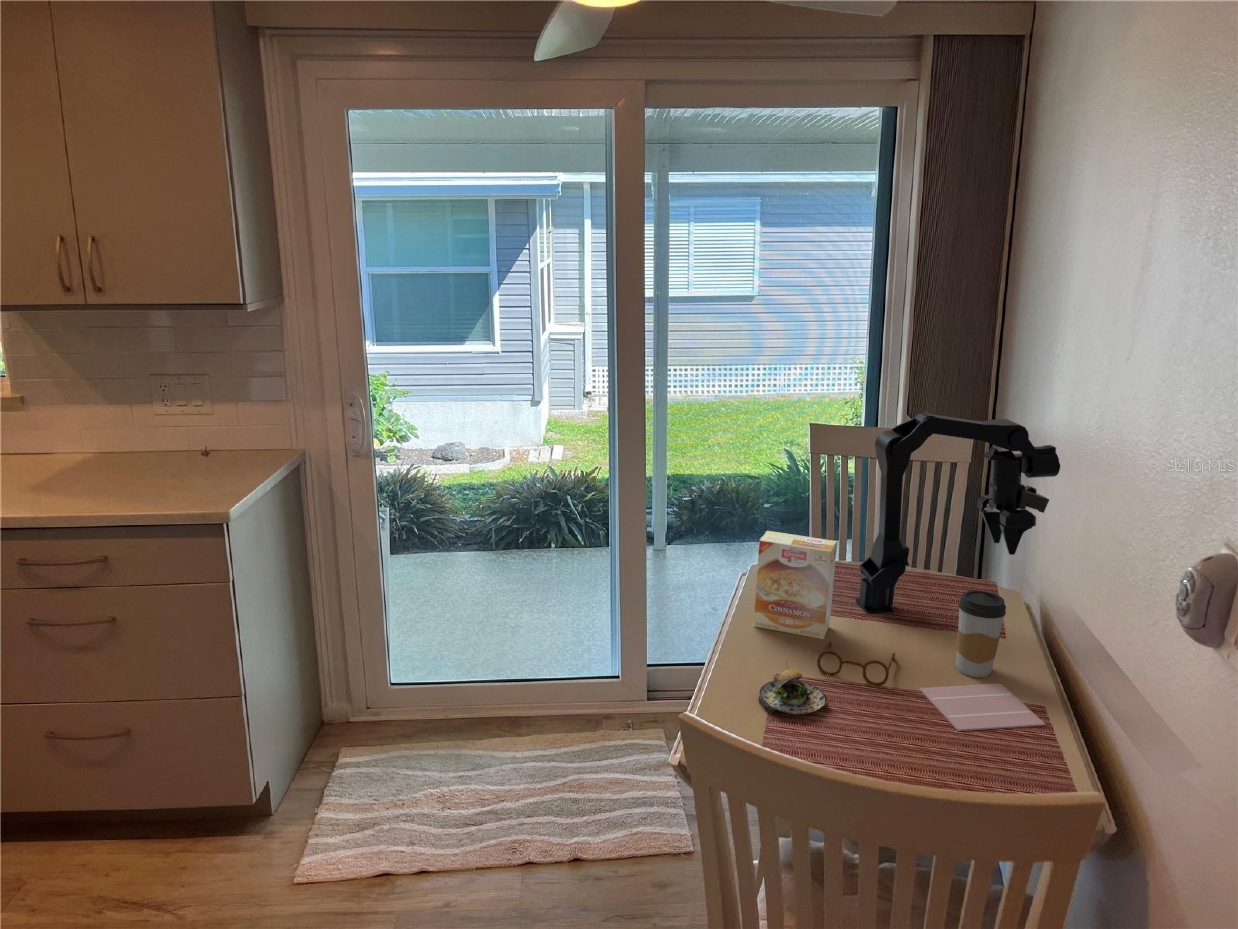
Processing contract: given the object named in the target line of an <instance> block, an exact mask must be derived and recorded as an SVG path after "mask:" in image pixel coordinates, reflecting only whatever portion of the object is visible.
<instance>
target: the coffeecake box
mask: <svg viewBox="0 0 1238 929" xmlns="http://www.w3.org/2000/svg"><path fill="white" fill-rule="evenodd" d="M837 548H838V541H837V540H831V539H824V538H819V537H818V538H817V537H813V536H804V535H800V534H799V535H798V534H794V533H793V534H791V533H785V532H778V531H771V530H766V531H765V533H764V534H763V536H761V537H760V539H759V544H758V554H757V557H758V558H757V570H756V571H757V572H756V583H755V598H754V612H753V613H754V614H753V627H754V628H755V627H756V628H760V629H765V630H771V631H777V632H783V633H787V634H793V635H799V636H804V637H809V638H815V639H821V640H824V639H825V637H826V634H827V632H828V630H829V627H830V623H831V611H832V601H833V591H834V578H835V570H836V569H835V568H836V560H837V558H836V557H837Z"/></svg>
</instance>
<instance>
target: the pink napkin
mask: <svg viewBox="0 0 1238 929" xmlns="http://www.w3.org/2000/svg"><path fill="white" fill-rule="evenodd" d="M919 691H920V692H921V693H922V694H923V695H924V696H925V697H926V698H927V700H929V701H930V703H932V704H933V706H934V707H935V708H936V709H937V710H938V711H939V713H941V715H942V716H943V717H945V719H946V720H947V721H948V722H949V723H950V724H951V725H952V726H953V727H954V729H957V731H958V732H963V731H964V732H965V731H980V730H981V731H982V730H998V729H1008V728H1009V729H1011V728H1012V729H1013V728H1027V727H1028V728H1029V727H1045V726H1046V723H1045V722H1044V721H1043V720H1041V718H1039V717H1038V716H1037V715H1036V713H1034V712H1033V711H1032V710H1031V709H1030V708H1029V707H1027V706H1026V705H1025V704H1024V703H1023V702H1022V701H1021V700H1020V699H1018V698H1017V697H1016V696H1015V695H1014V694H1013V693H1012V692H1011V691H1009V689H1008V688H1006V686H1004V685H1003V684H1002V683H985V684H969V685H952V686H950V685H949V686H934V687H932V686H929V687H919Z"/></svg>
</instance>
